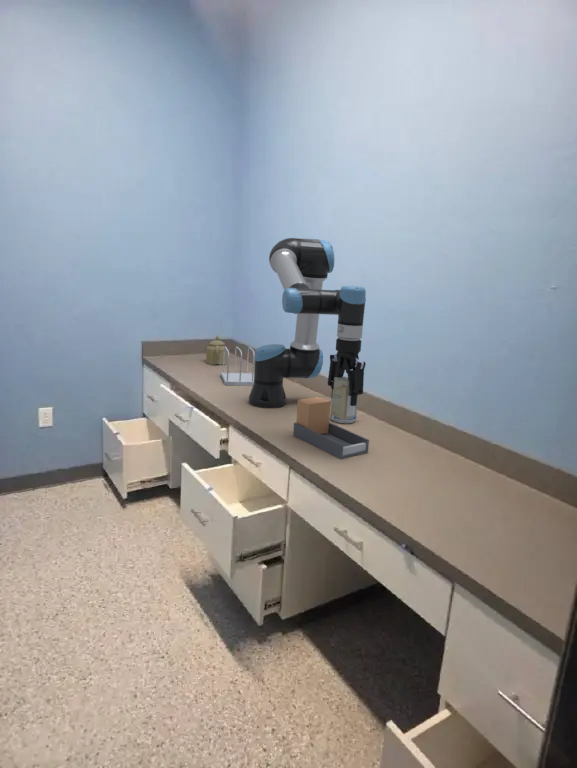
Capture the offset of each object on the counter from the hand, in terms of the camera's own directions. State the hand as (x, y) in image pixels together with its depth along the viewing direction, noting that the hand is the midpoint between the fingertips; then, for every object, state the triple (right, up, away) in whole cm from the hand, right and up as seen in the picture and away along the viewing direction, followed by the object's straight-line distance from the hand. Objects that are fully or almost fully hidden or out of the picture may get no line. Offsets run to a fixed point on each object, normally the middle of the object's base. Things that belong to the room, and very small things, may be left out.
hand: (342, 412), depth 163 cm
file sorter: (-35, +10, +84) cm, 91 cm away
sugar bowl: (-54, +19, +117) cm, 130 cm away
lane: (-4, -10, +7) cm, 13 cm away
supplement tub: (+3, -5, +32) cm, 33 cm away
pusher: (-9, -7, +14) cm, 18 cm away
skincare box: (0, -2, 0) cm, 2 cm away
